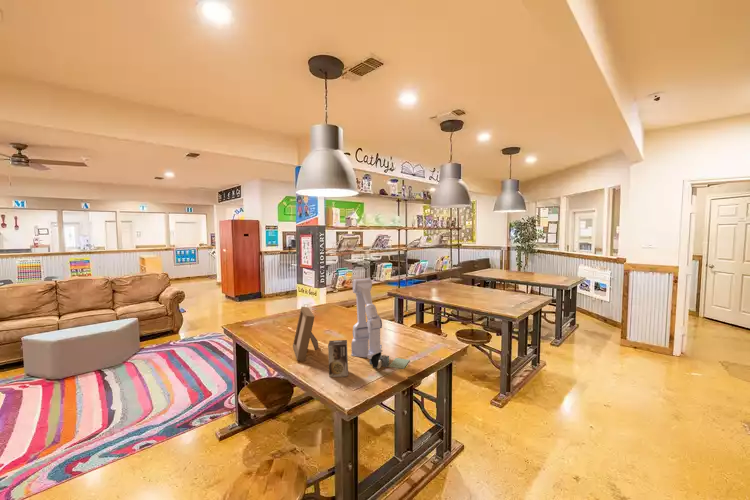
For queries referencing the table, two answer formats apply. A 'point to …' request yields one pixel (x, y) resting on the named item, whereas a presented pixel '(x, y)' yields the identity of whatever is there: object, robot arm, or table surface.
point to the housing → (383, 360)
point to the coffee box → (338, 358)
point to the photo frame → (304, 334)
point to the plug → (379, 363)
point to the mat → (399, 363)
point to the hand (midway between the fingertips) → (375, 367)
